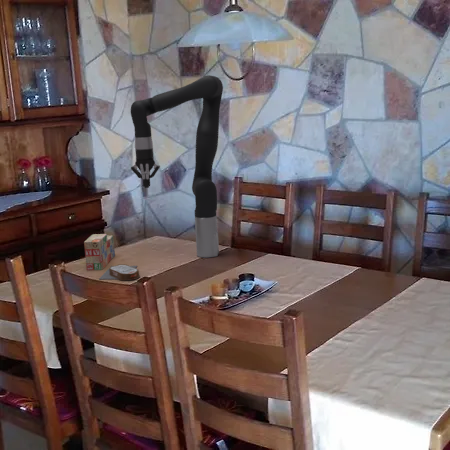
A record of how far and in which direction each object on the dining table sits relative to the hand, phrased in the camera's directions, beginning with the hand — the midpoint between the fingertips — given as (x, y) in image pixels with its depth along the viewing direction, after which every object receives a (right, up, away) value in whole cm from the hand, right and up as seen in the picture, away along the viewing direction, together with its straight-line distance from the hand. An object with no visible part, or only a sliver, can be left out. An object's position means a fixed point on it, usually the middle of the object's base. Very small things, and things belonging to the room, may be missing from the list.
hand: (146, 187), depth 274 cm
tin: (-2, -34, -24) cm, 42 cm away
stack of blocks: (-18, -33, -7) cm, 38 cm away
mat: (-9, -35, -22) cm, 43 cm away
